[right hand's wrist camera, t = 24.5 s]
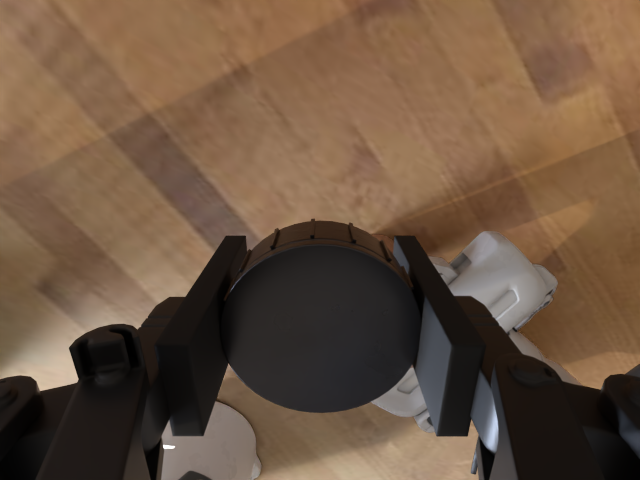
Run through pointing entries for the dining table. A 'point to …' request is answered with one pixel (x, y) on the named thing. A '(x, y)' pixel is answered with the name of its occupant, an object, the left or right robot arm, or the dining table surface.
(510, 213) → the dining table surface
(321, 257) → the lid
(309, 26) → the dining table surface
